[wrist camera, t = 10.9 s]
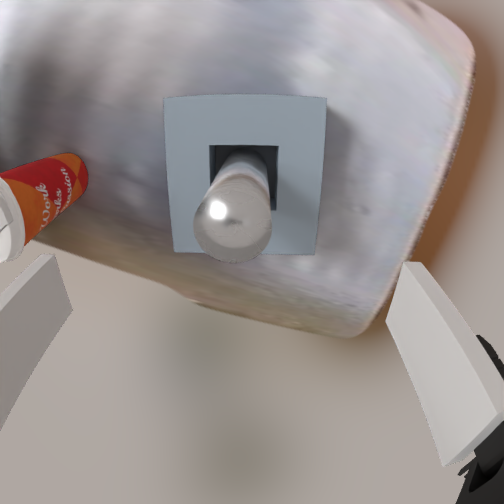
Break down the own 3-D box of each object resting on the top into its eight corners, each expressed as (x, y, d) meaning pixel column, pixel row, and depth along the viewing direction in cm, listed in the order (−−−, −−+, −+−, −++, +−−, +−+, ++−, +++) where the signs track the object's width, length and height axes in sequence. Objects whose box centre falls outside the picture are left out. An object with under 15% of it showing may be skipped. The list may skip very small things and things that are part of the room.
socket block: (184, 232, 32) (174, 252, 28) (177, 98, 25) (163, 98, 22) (307, 234, 32) (314, 255, 28) (316, 98, 25) (326, 98, 21)
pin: (224, 189, 29) (195, 262, 16) (223, 147, 27) (190, 190, 14) (266, 189, 29) (270, 263, 16) (267, 148, 27) (273, 190, 14)
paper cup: (80, 220, 32) (8, 285, 19) (37, 184, 29) (-43, 233, 17) (108, 166, 29) (24, 215, 16) (60, 129, 26) (-32, 160, 14)
